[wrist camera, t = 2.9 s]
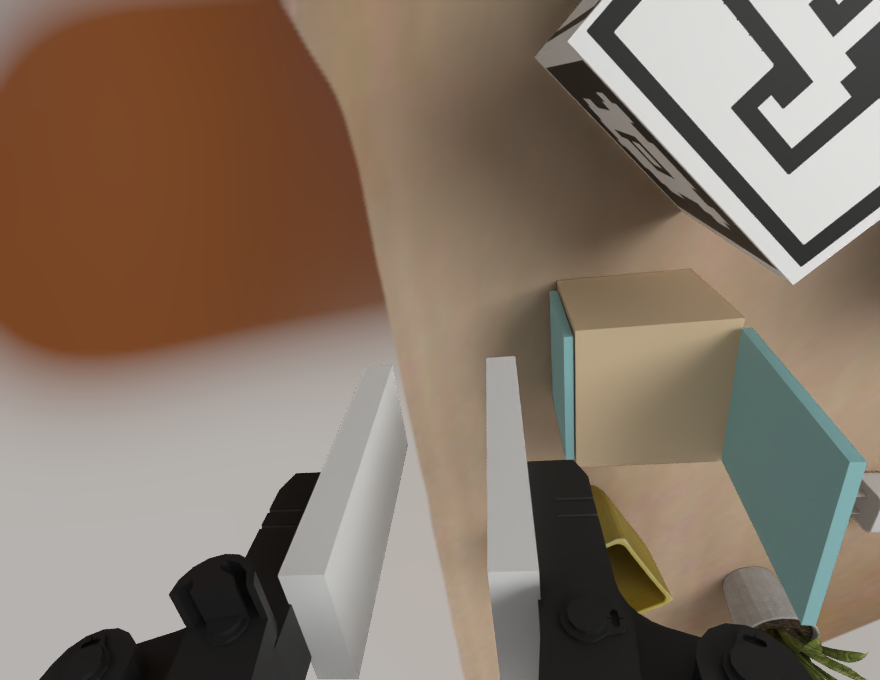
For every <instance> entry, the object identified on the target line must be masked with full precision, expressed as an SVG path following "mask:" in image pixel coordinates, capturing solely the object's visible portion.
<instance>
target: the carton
mask: <svg viewBox="0 0 880 680" xmlns="http://www.w3.org/2000/svg"><path fill="white" fill-rule="evenodd" d="M549 295H550V328H551V360H552V392H553V403H554V407H555V412H556V417H557V421H558V426H559V431H560V435H561V440H562V445H563V450H564V454H565V459H566V460H575V462H576V463H577V464H578V465H579V467H599V466H622V465H645V464H668V463H692V462H715V461H722V460H721V457H722V451H723V444H724V438H725V431H726V425H727V418H728V412H729V406H730V399H731V393H732V386H733V380H734V373H735V367H736V360H737V354H738V347H739V341H740V334H741V328H744V324H745V317H744V316H743V315H742V314H741V313H740V312H738V311H737V310H736V309H735V308H734V307H733V306H732V305H731V304H730V303H729V302H727V301H726V300H725V299H724V298H723V297H722V296H721V295H720V294H719V293H718V292H716V291H715V290H714V289H713V288H712V287H711V286H710V285H709V284H708V283H707V282H705V281H704V280H703V279H702V278H701V277H700V276H699V275H698V274H697V273H696V272H694V271H693V270H692V269H683V270H671V271H660V272H649V273H638V274H626V275H615V276H604V277H592V278H581V279H570V280H559V281H557V291H549Z"/></svg>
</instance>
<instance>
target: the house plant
mask: <svg viewBox="0 0 880 680" xmlns="http://www.w3.org/2000/svg"><path fill="white" fill-rule="evenodd" d="M723 591H724V594H725V598H726V602H727V605H728V609H729V613H730V616H731V620H732V623H733V624H740V625H747V626H750V627H752V628H755V629H758V630H760V631H763V632H766V633H768V634H769V635H771V636H772V637H773V638H775V639H776V640H778V641H779V642H781V643H782V644H784V645H785V646H786V647H788V648H789V649H790V651H791V652H792V653H793V654H794V655H795V656H796V657H797V659H798V660H799V661H800V662H801V663H802V664H803V665H804V667H805V668H806V670H807V671H808V673H809V674H810V676H811V677H812V679H813V680H824V678H825V679H826V680H837V679H835V678H834V677H832V676H831V675H829V674H828V673H826V672H825V671H823V670H822V669H821V668H819V667H818V666H816V665H815V664H813V663H812V662H811V660H810V658H812V659H814V660H815V661H817V662H819V663H821V664H823V665H825V666H826V667H828V668H830V669H832V670H835V671H837V672H839V673H841V674H843V675H846V676H848V677H850V678H852V679H854V680H867V679H865V678H863V677H861V676H860V675H859V674H857V673H856V672H855V671H853V670H852V669H851V668H849V667H847V666H845V665H843V664H840V663H838V662H836V661H834V660H832V659H830V658H828V657H826V656H829V657H831V658H834V659H837V660H840V661H844V662H848V663H849V662H856V661H859V660H861V659H863V658H864V657H865V656H866V655H867V654H863V653H858V652H851V651H843V650H837V649H832V648H827V647H824V646H822V645H821V641H820V632H819V630H818V628H817V627H816V625H815V626H809V625H801V623H800V621H799V619H798V617H797V615H796V613H795V611H794V609H793V607H792V605H791V603H790V601H789V599H788V597H787V594H786V592H785V590H784V588H783V586H782V584H781V583H780V582H779V580H778V579H777V578H776V577H775V575H774V574H773V573H772V572H771V571H769V570H767V569H765V568H762V567H746V568H741V569H737V570H735V571H733V572H731V573H730V574H729V575H728V576H727V577H726V578H725V579H724V582H723ZM822 653H823V654H824V655H823V654H822ZM825 655H826V656H825ZM809 657H810V658H809Z"/></svg>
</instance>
